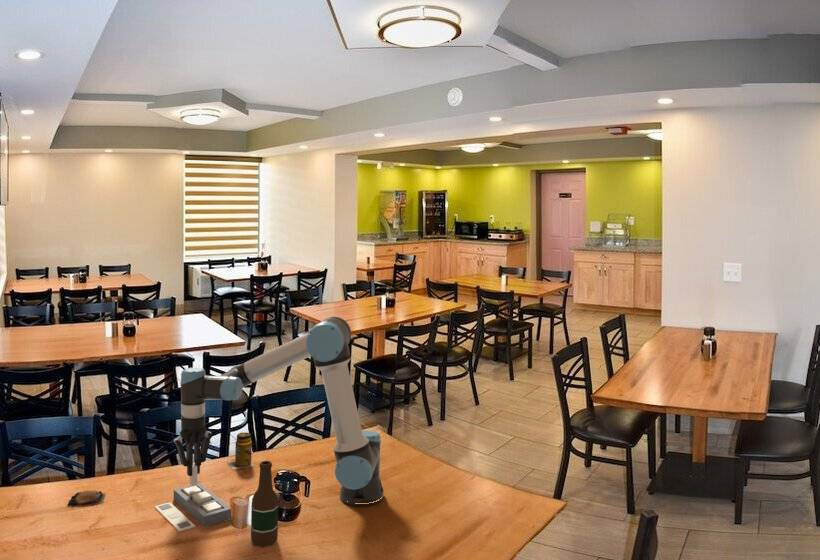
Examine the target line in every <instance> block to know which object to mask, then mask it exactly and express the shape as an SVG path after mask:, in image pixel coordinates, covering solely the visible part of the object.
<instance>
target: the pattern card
mask: <svg viewBox="0 0 820 560" xmlns="http://www.w3.org/2000/svg"><path fill="white" fill-rule="evenodd" d="M154 509H156V511H157V512H158V513H159V514H160V515H161V516H162V517H163V518H164V519H166V520H167V522H168V523H169V524H170V525H171V526H172V527H174V528H175V530H176V531H177V532H178V533H179V532H180V533H181V532H183V531H187V530H189V529H193V528H196V525H195V524H194V523H193V522H192V521H191V520H190V519H189V518H188V517H186V515H185V514H183V513H182V512H181V511H180V510H179V509H178V508H177V507H176V506H175V505H174V504H173V503H172V502H166V503H161V504H159V505H155V506H154Z"/></svg>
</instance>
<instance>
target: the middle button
mask: <svg viewBox="0 0 820 560" xmlns="http://www.w3.org/2000/svg"><path fill="white" fill-rule="evenodd" d="M192 501H193V502H194V503H196V504H201V503H204V502H208V501H211V495H210V494H209V493H207V492H206V491H204V492H200V493H196V494H193V499H192Z"/></svg>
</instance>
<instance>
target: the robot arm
mask: <svg viewBox="0 0 820 560" xmlns="http://www.w3.org/2000/svg"><path fill="white" fill-rule="evenodd" d="M351 339H352V330H351V326H350V325H349V323H348V322H347V321H346V320H345V319H343V318H342V317H339V316H328V317H327V318H324V319H323V320H321V321H320V322H317V323H316V324H315V325H313V326H312V327H311V328H309V330H308V332H307V333H304V334H303V335H300V336H298V337H297V338H294V339H292V340H291V341H288V342H285V343H283V344H282V345H279V346H277V347H275V348H273V349H270V350H269V351H266V352H264V353H262V354H260V355H258V356H255V357H254V358H251V359H249V360H248V361H246V362H244V363H241V364H238V365H235V366H233V367H231V369H229V370H228V371H226V372H224V373H222V374H221V375H208V374H207V375H206V370H205V369H204V368H203V367H202V368H201V367H187V368H185V369H183V370H182V371H181V372H180V373H181V374H180V383H179V384H180V400H181V401H180V414H181V418H180V432H179V436H177V437H176V438H175V437H174V438H173V439H172V441H173V443H174V444H175V446H176V449H177V453H178V457H179V461H180V465H182V466H183V467H186V474H187V476H188V477H189V485H192V486H195V485H197V483H198V475H200V474H201V466H202V463H205V462H206V460H207V456H208V451H209V447H210V442H211V439H212V438H213V436H214V433H213V432H211V431H209V430H207V428H206V415H205V413H206V400H209V399H210V400H221V401H222V400H223V401H235V400H236V401H237V400H238V399H240V398H241V395H242V394H243V393H242V392H243V388H245V387H247V386H249V385H251V384H253V383H255V382H257V381H259V380H261V379H264V378H266V377H268V376H270V375H272V374H275V373H277V372H279V371H281V370H284V369H286V368H287V367H290V366H292V365H294V364H296V363H298V362H301V361H303V360H305V359H307V358H310V357H312V359H313V363H314V367H315V368H316V369H318V370H319V371H320V372H321V373H320V374H321V376H322V381H323V386H324V389H325V394H326V399H327V404H328V409H329V412H330V417H331V423H332V427H333V430H334V435H335V440H336V443H335V444H334V446H333V452H334V457H335V461H336V462H335V463H336V464H335V465H334V475H335V479H336V480H337V482H338V484H340V485H341V487H340V490H339V499H340V500H341V501H342V502H343V503H345V504H347V505H350V506H353V507H370V506H375V505H377V504H379V503H381V502H382V501H383V499H384V495H383V494H384V493H385V491H384V487H383V484H382V480H381V478H380V468H381V467H380V465H381V464H380V463H381V462H380V461H381V457H380V456H381V443H382V441H381V435H380V434H379V433H378V432H377V431H373V430H363V428H362V424H361V421H360V416H359V411H358V407H357V402H356V398H355V392H354V389H353V384H352V383H353V382H352V379H351V375H350V370H349V365H348V364H349V362H350V361H351V359H352V357H351V353H350V347H349V344H350V341H351ZM183 441H184V442H185V446H186V449H184V446H183V444H182V443H183ZM185 452H186V453H185ZM382 496H383V498H382V499H380V498H381V497H382ZM378 499H380V500H379V501H377V502H374V503H369V502H373V501H376V500H378ZM347 501H348V502H347ZM355 503H369V504H355Z"/></svg>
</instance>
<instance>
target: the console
mask: <svg viewBox="0 0 820 560" xmlns="http://www.w3.org/2000/svg"><path fill="white" fill-rule="evenodd" d="M195 486H197V487H198V488H199V489H201V490H202V492H204V491H206V492H207V493H209V494H210V495H211V501H208V502H204V503H201V504H196V503H194V502H193V501H192V499H193V495H190V496H186V495H185V494H184V493H183V489H185V488H189V487H193V486H192V485H191V484H189V485H186V486H182V487H179V488H175V489H173V501H175V503H177V505H179V506H180V508H182V509H183V510H184V511H185V512H187V514H189V516H191V517H192V518H193V519H194V520H195V521H196V522H197V523H199V524H200V525H201V526H202V527H203V528H207V527H210V526H215V525H216V524H217V525H218V524H220V523H221V524H222V523H224V522H226V521H230V520H232V516H233V515H232V516H231V508H232V507H231V506H230V505H228V504H227V503H226V502H225V501H223V500H222V499H221V498H219V496H217V495H216V494H215V493H214V492H212V491H211V490H210V489H209V488H207V487H206V486H204V485H203V484H202V483H201V482H197V485H195ZM213 502H216V503H218V504H219V505H220V506H221V507H222V509H220V510H217V511H213V512H210V513H206V512H205V511H204V510H202V505H206V504H209V503H213Z"/></svg>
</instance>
